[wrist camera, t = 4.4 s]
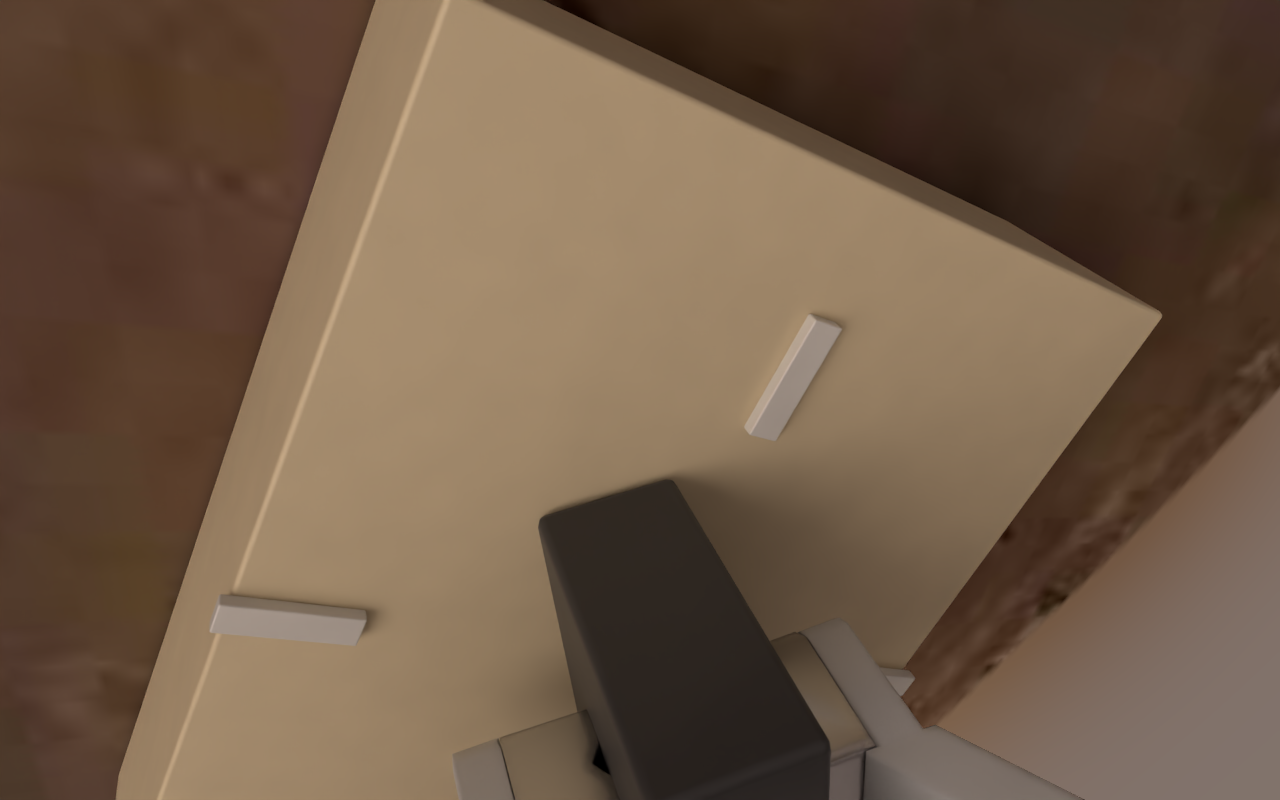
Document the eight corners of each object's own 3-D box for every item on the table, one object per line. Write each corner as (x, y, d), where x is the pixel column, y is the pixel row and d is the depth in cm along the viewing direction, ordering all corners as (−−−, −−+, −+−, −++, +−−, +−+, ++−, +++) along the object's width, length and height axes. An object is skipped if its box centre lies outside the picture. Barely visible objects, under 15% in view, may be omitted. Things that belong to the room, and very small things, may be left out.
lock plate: (386, -74, 9) (439, -16, 7) (1011, 222, 14) (1181, 323, 11) (110, 773, 14) (78, 1000, 11) (650, 785, 18) (714, 948, 16)
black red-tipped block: (534, 514, 10) (660, 845, 7) (672, 473, 10) (851, 769, 7) (595, 797, 12) (700, 1115, 9) (700, 757, 13) (835, 1054, 10)
